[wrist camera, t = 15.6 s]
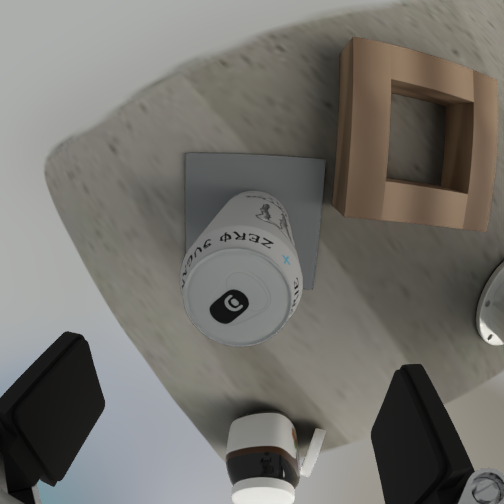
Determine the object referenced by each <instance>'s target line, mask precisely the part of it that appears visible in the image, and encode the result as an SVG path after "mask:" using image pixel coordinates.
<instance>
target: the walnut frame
mask: <svg viewBox="0 0 504 504" xmlns="http://www.w3.org/2000/svg"><path fill="white" fill-rule="evenodd" d="M391 93H393V94H398V95H403V96H407V97H412V98H416V99H420V100H424V101H428V102H432V103H435V104H439V105H443V106H446V124H445V144H444V158H443V169H442V179H441V186H438V185H432V184H426V183H419V182H413V181H406V180H399V179H392V178H386V174H387V163H388V150H389V134H390V112H391ZM497 140H498V87H497V80H496V79H493V78H491V77H489V76H487V75H484V74H482V73H479V72H477V71H474V70H472V69H469V68H467V67H464V66H461V65H458V64H456V63H453V62H450V61H447V60H444V59H441V58H438V57H435V56H432V55H428V54H425V53H422V52H418V51H415V50H411V49H407V48H403V47H400V46H396V45H391V44H387V43H383V42H378V41H373V40H368V39H363V38H358V37H353V38H352V39H351V40H350V41H349V43H348V44H347V45H346V47H345V48H344V49H343V50H342V52H341V53H340V77H339V109H338V130H337V147H336V162H335V175H334V187H333V199H332V206H333V207H335V208H336V209H337V210H338V211H339V212H340V213H341V214H342V215H343V216H344V217H351V218H363V219H374V220H385V221H395V222H405V223H415V224H424V225H433V226H442V227H450V228H458V229H466V230H474V231H482V232H487V226H488V221H489V215H490V209H491V202H492V195H493V188H494V179H495V169H496V157H497Z"/></svg>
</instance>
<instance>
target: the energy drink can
mask: <svg viewBox="0 0 504 504" xmlns="http://www.w3.org/2000/svg"><path fill="white" fill-rule="evenodd" d="M180 286H181V292H182V295H183V301H184V307H185V310H186V312H187V315H188V317H189V318H190V320H191V322H192V323H193V325H194V326H195V327H196V328H197V329H198V330H199V331H200V332H201V333H203V334H204V335H205V336H207V337H208V338H210V339H212V340H214V341H216V342H218V343H221V344H224V345H229V346H235V347H246V346H252V345H257V344H259V343H262V342H265V341H266V340H268V339H270V338H272V337H273V336H274V335H276V334H277V333H278V332H279V331H280V330H281V329H282V327H283V326H284V325H285V323H286V322H287V320H288V319H289V318H290V317H291V316H292V314H293V313H294V311H295V310H296V308H297V306H298V304H299V302H300V299H301V295H302V290H303V277H302V272H301V268H300V263H299V259H298V255H297V251H296V247H295V242H294V238H293V234H292V230H291V226H290V222H289V218H288V214H287V212H286V210H285V208H284V206H283V205H282V204H281V202H279V201H278V200H277V199H276V198H275V197H273V196H271V195H270V194H267V193H265V192H261V191H246V192H243V193H240V194H238V195H236V196H234V197H233V198H232V199H230V200H229V201H228V202H227V203H226V205H225V206H224V207H223V208H222V209H221V211H220V212H219V213H218V214H217V215H216V217H215V218H214V219H213V220H212V221H211V223H210V224H209V225H208V226H207V228H206V229H205V230H204V231H203V233H202V234H201V235H200V236H199V237H198V239H197V240H196V241H195V242H194V244H193V245H192V246H191V247H190V249H189V250H188V252H187V254H186V256H185V258H184V259H183V263H182V266H181V270H180Z"/></svg>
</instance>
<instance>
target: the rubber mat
mask: <svg viewBox="0 0 504 504" xmlns="http://www.w3.org/2000/svg"><path fill="white" fill-rule="evenodd" d="M325 162H326V160H325V159H314V158H302V157H289V156H274V155H255V154H228V153H186V173H185V237H186V254H187V252H188V250H189V249H190V247H191V246H192V245H193V244H194V242H195V241H196V240H197V239H198V237H199V236H200V235H201V234H202V233H203V231H204V230H205V229H206V228H207V226H208V225H209V224H210V223H211V221H212V220H213V219H214V218H215V217H216V215H217V214H218V213H219V212H220V211H221V209H222V208H223V207H224V206H225V205H226V203H227V202H228V201H229V200H230V199H232V198H233V197H234V196H236V195H238V194H240V193H243V192H246V191H261V192H265V193H267V194H270V195H271V196H273V197H275V198H276V199H277V200H278V201H279V202H281V204H282V205H283V206H284V208H285V210H286V212H287V214H288V218H289V222H290V226H291V230H292V234H293V238H294V242H295V247H296V251H297V255H298V259H299V263H300V268H301V272H302V277H303V289H313V283H314V276H315V267H316V259H317V250H318V241H319V232H320V222H321V211H322V200H323V188H324V176H325Z"/></svg>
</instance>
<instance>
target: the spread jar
mask: <svg viewBox="0 0 504 504" xmlns="http://www.w3.org/2000/svg"><path fill="white" fill-rule="evenodd" d="M325 432H326V430H322V429H318V428H316V429H315V432H314V434H313V437H312V440H311V442H310V445H309V448H308V451H307V453H306V456H305V459H304V461H303V464H302V466H301V469H299V451H298V441H297V435H296V431H295V427H294V425H293V423H292V421H291V419H290V418H289V417H288V416H287V415H285V414H284V413H281V412H278V411H271V410H263V411H255V412H251V413H248V414H245V415H243V416H240V417H239V418H237V419H235V420H234V421H233V422H232V424H231V426H230V430H229V435H228V442H227V449H226V467H227V471H228V475H229V478H230V481H231V483H232V485H233V488H232V495H231V499H232V501H233V502H234V503H235V504H292V503H293V502H294V489H295V488H296V487H297V485H298V483H299V478H300V475H303V476H307V477H309V475H310V473H311V471H312V469H313V466H314V464H315V462H316V459H317V456H318V454H319V451H320V448H321V445H322V442H323V439H324V436H325Z"/></svg>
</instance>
